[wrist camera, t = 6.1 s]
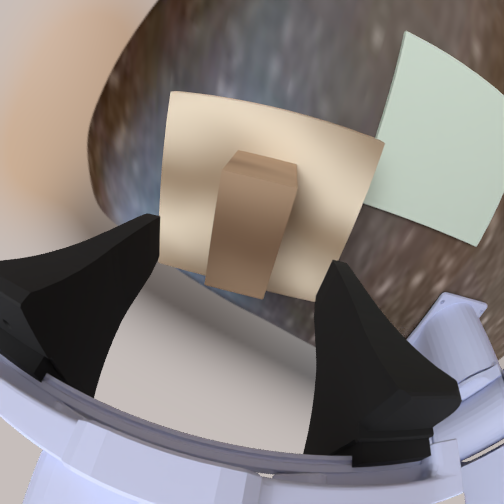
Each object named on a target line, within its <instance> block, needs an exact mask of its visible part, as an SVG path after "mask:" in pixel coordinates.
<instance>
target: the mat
mask: <svg viewBox="0 0 504 504" xmlns="http://www.w3.org/2000/svg"><path fill="white" fill-rule="evenodd" d="M375 138H376V139H379V140H381V141H382V142H384V143H385V145H384V148H383V151H382V154H381V157H380V160H379V162H378V165H377V168H376V171H375V173H374V176H373V179H372V181H371V184H370V186H369V189H368V192H367V194H366V197H365V199H364V202H363V203H364V204H367V205H370V206H373V207H376V208H379V209H382V210H385V211H388V212H390V213H393V214H396V215H399V216H402V217H404V218H407V219H410V220H412V221H415V222H418V223H420V224H423V225H425V226H428V227H431V228H433V229H436V230H438V231H440V232H443V233H445V234H448V235H450V236H453V237H455V238H457V239H460V240H462V241H464V242H467V243H469V244H471V245H473V246H476V247H477V245H478V243H479V241H480V240H481V238H482V236H483V234H484V232H485V230H486V228H487V227H488V225H489V223H490V221H491V219H492V217H493V215H494V212H495V210H496V208H497V206H498V204H499V202H500V200H501V197H502V195H503V193H504V95H503V94H502V93H500V92H499V91H498V90H497V89H496V88H495V87H493V86H492V85H491V84H490V83H488V82H487V81H486V80H484V79H483V78H482V77H481V76H479V75H478V74H476V73H475V72H474V71H472V70H471V69H470V68H468V67H467V66H465V65H464V64H462V63H461V62H459V61H458V60H456V59H455V58H453V57H452V56H450V55H449V54H447V53H445V52H444V51H442V50H440V49H439V48H437V47H435V46H434V45H432V44H430V43H428V42H426V41H425V40H423V39H421V38H419V37H417V36H415V35H413V34H411V33H409V32H407V31H406V32H404V36H403V40H402V45H401V49H400V53H399V57H398V61H397V65H396V69H395V73H394V77H393V80H392V84H391V87H390V91H389V94H388V98H387V101H386V105H385V108H384V111H383V115H382V118H381V121H380V124H379V127H378V130H377V134H376V137H375Z"/></svg>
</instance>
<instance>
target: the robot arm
mask: <svg viewBox="0 0 504 504" xmlns="http://www.w3.org/2000/svg"><path fill="white" fill-rule="evenodd" d="M159 256H160V216H156V215H152V214H148V213H147V214H144V215H142V216H139V217H137V218H135V219H133V220H130V221H128V222H126V223H124V224H122V225H120V226H117V227H115V228H113V229H111V230H109V231H107V232H104V233H102V234H100V235H98V236H95V237H93V238H91V239H88V240H86V241H83V242H81V243H78V244H75V245H72V246H69V247H66V248H63V249H59V250H56V251H52V252H49V253H45V254H41V255H36V256H32V257H26V258H20V259H12V260H3V261H0V417H2V418H3V419H4V420H5V421H6V422H7V423H9V424H10V425H11V426H12V427H13V428H15V429H16V430H17V431H18V432H20V433H21V434H22V435H23V436H25V437H26V438H28V439H29V440H30V441H32V442H33V443H34V444H36V445H37V446H38V447H40V448H41V449H43V450H42V452H41V455H40V457H39V460H38V462H37V464H36V467H35V469H34V472H33V475H32V478H31V480H30V483H29V486H28V489H27V491H26V494H25V498H24V500H23V504H435V503H438V502H441V501H444V500H446V499H449V498H452V497H454V496H457V495H459V494H462V492H463V493H464V495H465V504H504V443H503V444H502V445H500V446H498V447H496V448H495V449H493V450H491V451H489V452H487V453H486V454H483V455H482V456H480V457H478V458H476V459H474V460H472V461H468V462H462V460H465V459H467V458H469V457H471V456H473V455H475V454H477V453H479V452H481V451H483V450H485V449H486V448H488V447H490V446H492V445H494V444H495V443H497V442H499V441H501V440H502V439H504V369H503V370H502V368H501V367H500V365H499V362H498V360H497V357H496V355H495V352H494V350H493V348H492V345H491V343H490V341H489V339H488V337H487V334H486V332H485V330H484V328H483V326H482V324H481V322H480V320H479V317H480V316H481V315H482V314H483V312H484V311H485V310H486V308H487V304H486V303H484V302H481V301H477V300H473V299H470V298H466V297H462V296H459V295H455V294H452V293H448V292H444V293H442V294H441V295H440V297H439V298H438V299H437V301H436V302H435V303H434V305H433V306H432V308H431V309H430V310H429V312H428V313H427V314H426V316H425V317H424V318H423V319H422V321H421V322H420V323H419V325H418V326H417V327H416V328H415V330H414V331H413V332H412V333H411V334H410V336H409V337H408V338H407V339H405V338H404V337H403V336H402V335H401V334H400V333H399V332H398V330H397V329H396V328H395V327H394V326H393V325H392V324H391V323H390V321H389V320H388V319H387V318H386V317H385V315H384V314H383V313H382V311H381V310H380V309H379V308H378V306H377V305H376V304H375V302H374V301H373V300H372V298H371V297H370V295H369V294H368V293H367V291H366V290H365V288H364V287H363V285H362V284H361V283H360V281H359V280H358V278H357V277H356V275H355V274H354V273H353V271H352V270H351V268H350V267H349V266H348V265H347V263H344V262H340V261H336V260H332V262H331V264H330V266H329V269H328V271H327V273H326V275H325V277H324V279H323V282H322V284H321V286H320V288H319V290H318V292H317V294H316V299H315V312H314V322H315V341H316V361H317V362H316V363H317V364H316V366H317V367H316V381H315V392H314V400H313V407H312V414H311V420H310V425H309V431H308V436H307V440H306V444H305V449H304V453H303V454H293V453H284V452H276V451H268V450H261V449H255V448H249V447H243V446H237V445H233V444H228V443H223V442H218V441H214V440H210V439H205V438H202V437H197V436H194V435H190V434H187V433H184V432H180V431H177V430H173V429H170V428H167V427H164V426H161V425H158V424H155V423H152V422H149V421H147V420H144V419H141V418H139V417H136V416H133V415H130V414H128V413H126V412H123V411H121V410H119V409H116V408H114V407H111V406H109V405H107V404H105V403H103V402H100V401H98V400H96V399H94V395H95V391H96V388H97V384H98V381H99V377H100V374H101V371H102V368H103V365H104V362H105V359H106V356H107V354H108V351H109V348H110V346H111V344H112V341H113V339H114V337H115V334H116V332H117V330H118V328H119V326H120V323H121V321H122V319H123V318H124V316H125V314H126V312H127V310H128V309H129V307H130V306H131V304H132V303H133V301H134V299H135V298H136V297H137V295H138V293H139V292H140V290H141V289H142V287H143V286H144V284H145V283H146V281H147V279H148V278H149V276H150V275H151V273H152V271H153V269H154V267H155V265H156V263H157V261H158V258H159ZM256 472H258V473H266V474H275V475H274V476H273V478H267V477H262V476H260V475H259V474H258V473H256Z"/></svg>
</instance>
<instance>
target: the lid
mask: <svg viewBox="0 0 504 504" xmlns="http://www.w3.org/2000/svg"><path fill="white" fill-rule="evenodd" d="M384 145H385V143H384V142H382V141H381V140H379V139H376V138H374V137H371V136H368V135H366V134H363V133H360V132H357V131H355V130H352V129H349V128H346V127H343V126H340V125H337V124H334V123H331V122H327V121H324V120H321V119H318V118H314V117H311V116H307V115H304V114H300V113H296V112H292V111H288V110H284V109H280V108H276V107H272V106H267V105H263V104H258V103H253V102H248V101H243V100H238V99H232V98H226V97H220V96H213V95H206V94H198V93H190V92H181V91H173V92H171V94H170V101H169V108H168V115H167V123H166V132H165V141H164V151H163V162H162V175H161V190H160V210H159V216H160V256H159V263H161V264H165V265H168V266H172V267H175V268H179V269H183V270H186V271H190V272H194V273H198V274H201V275H205V276H206V278H205V285H207V286H211V287H215V288H219V289H223V290H227V291H231V292H235V293H239V294H243V295H247V296H251V297H255V298H259V299H263V298H264V294H265V291H269V292H273V293H277V294H282V295H286V296H290V297H295V298H299V299H303V300H308V301H312V302H315V299H316V294H317V292H318V290H319V288H320V286H321V284H322V282H323V279H324V277H325V275H326V273H327V271H328V269H329V266H330V264H331V262H332V260H336V261H338V260H339V258H340V255H341V253H342V251H343V249H344V246H345V244H346V242H347V240H348V237H349V235H350V233H351V231H352V228H353V226H354V223H355V221H356V219H357V216H358V214H359V212H360V209H361V207H362V204H363V202H364V199H365V197H366V194H367V192H368V189H369V186H370V184H371V181H372V179H373V176H374V173H375V171H376V168H377V165H378V162H379V160H380V157H381V154H382V151H383V148H384Z"/></svg>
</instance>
